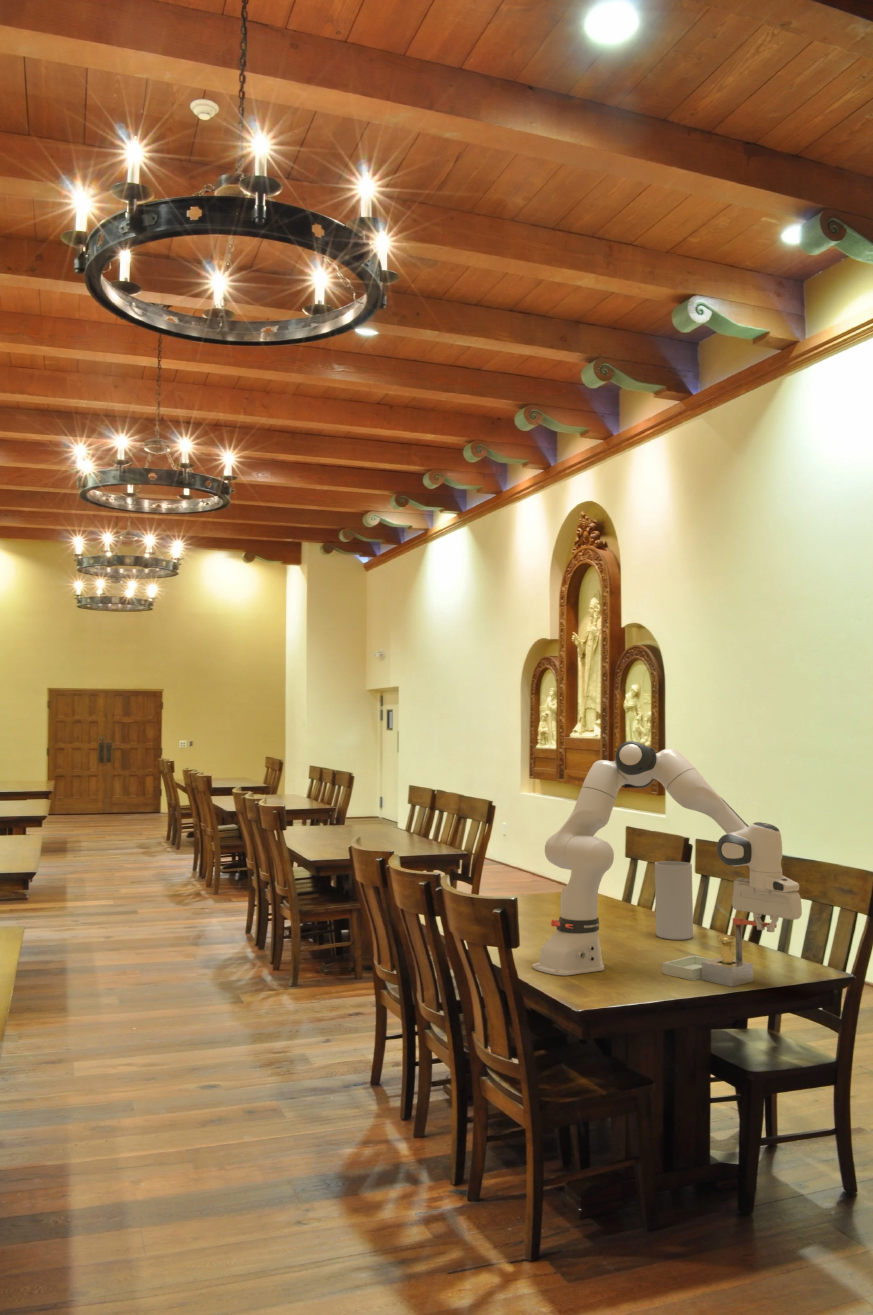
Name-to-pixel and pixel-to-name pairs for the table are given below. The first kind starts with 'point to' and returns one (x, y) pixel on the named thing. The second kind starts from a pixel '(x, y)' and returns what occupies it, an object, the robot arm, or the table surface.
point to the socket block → (729, 967)
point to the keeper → (747, 922)
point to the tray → (685, 967)
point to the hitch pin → (726, 949)
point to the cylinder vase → (674, 900)
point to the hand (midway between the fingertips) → (765, 931)
